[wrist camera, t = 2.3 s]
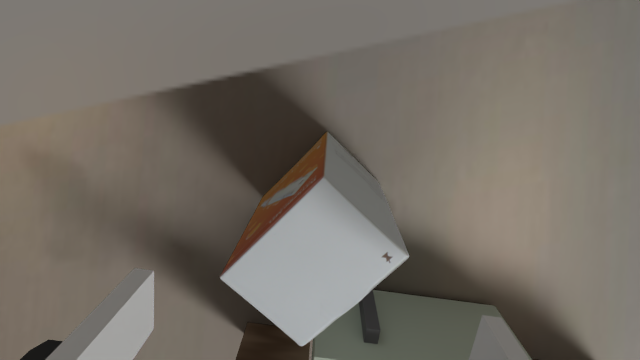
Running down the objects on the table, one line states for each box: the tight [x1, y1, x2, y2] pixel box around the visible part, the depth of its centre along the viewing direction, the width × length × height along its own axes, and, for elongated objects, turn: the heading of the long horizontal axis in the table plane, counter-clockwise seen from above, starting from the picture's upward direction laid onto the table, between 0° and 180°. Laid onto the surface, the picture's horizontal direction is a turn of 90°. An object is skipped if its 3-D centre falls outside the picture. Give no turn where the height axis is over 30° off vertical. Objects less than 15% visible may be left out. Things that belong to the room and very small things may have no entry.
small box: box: [219, 132, 409, 346], centre depth 26 cm, size 8×6×13 cm
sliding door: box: [312, 290, 532, 360], centre depth 30 cm, size 16×3×9 cm, turn 82°
